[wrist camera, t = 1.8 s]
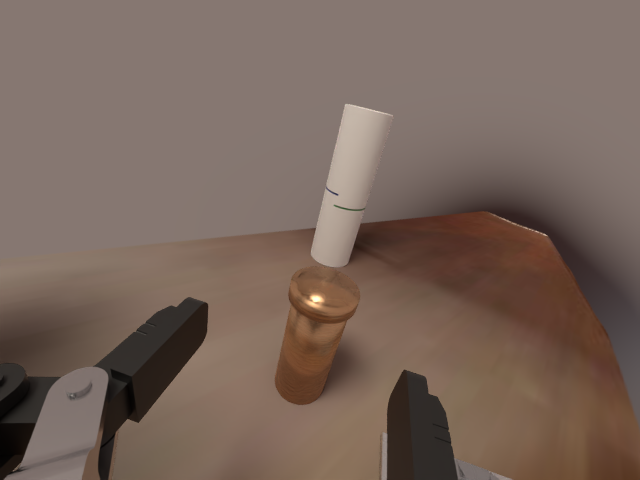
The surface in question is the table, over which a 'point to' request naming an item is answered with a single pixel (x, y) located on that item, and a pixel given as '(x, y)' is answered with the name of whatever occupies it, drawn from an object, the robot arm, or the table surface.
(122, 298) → the table surface
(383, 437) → the duct collar
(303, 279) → the copper pipe
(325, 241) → the cylindrical container
